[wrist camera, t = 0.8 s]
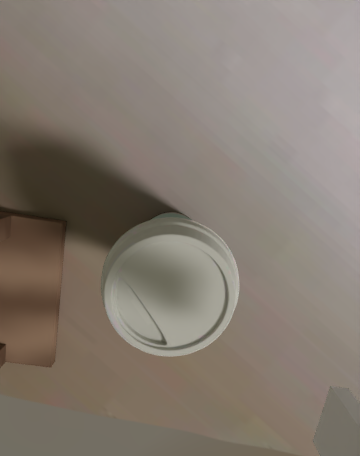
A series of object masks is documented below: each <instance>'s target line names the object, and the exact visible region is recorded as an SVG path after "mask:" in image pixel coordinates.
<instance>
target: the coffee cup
mask: <svg viewBox="0 0 360 456" xmlns="http://www.w3.org/2000/svg"><path fill="white" fill-rule="evenodd" d="M101 295H102V300H103V304H104V307H105V309H106V313H107V316H108V318H109V320H110V322H111V324H112V326H113V327H114V329H115V330H116V331H117V333H118V334H119V335H120V336H121V337H122V338H123V339H124V340H125V341H127V342H128V343H129V344H131V345H132V346H134V347H135V348H137V349H139V350H141V351H144V352H147V353H150V354H153V355H159V356H181V355H186V354H190V353H193V352H196V351H198V350H200V349H202V348H204V347H206V346H207V345H209V344H210V343H212V342H213V341H214V340H215V339H217V338H218V336H219V335H220V334H221V333H222V332H223V331H224V329H225V328H226V327H227V325H228V323H229V322H230V319H231V317H232V315H233V312H234V309H235V307H236V304H237V300H238V295H239V275H238V269H237V265H236V261H235V259H234V256H233V254H232V252H231V251H230V249H229V247H228V246H227V245H226V243H225V242H224V241H223V240H222V239H221V238H220V237H219V236H218V235H217V234H216V233H215V232H213V231H212V230H211V229H209V228H208V227H206V226H204V225H202V224H200V223H198V222H195V221H193V220H191V219H190V218H189V217H187V216H185V215H183V214H180V213H175V212H168V213H163V214H160V215H158V216H156V217H154V218H153V219H151V220H149V221H146V222H143V223H141V224H139V225H137V226H135V227H133V228H132V229H130V230H129V231H127V232H126V233H125V234H123V235H122V236H121V237H120V238H119V239H118V240H117V242H116V243H115V244H114V245H113V247H112V248H111V250H110V252H109V253H108V255H107V258H106V260H105V263H104V266H103V271H102V277H101Z"/></svg>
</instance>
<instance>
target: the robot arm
mask: <svg viewBox="0 0 360 456" xmlns="http://www.w3.org/2000/svg"><path fill="white" fill-rule="evenodd" d="M313 442H314V444H315V446H316V448H317V450H318V452H319V455H320V456H360V403H359V401H358V400H357V399H356V397H355V396H354V395H353V394H352V392H351V391H350V390H349V388H342V387H334V386H330V389H329V392H328V395H327V398H326V401H325V405H324V408H323V411H322V414H321V417H320V420H319V423H318V426H317V429H316V432H315V435H314V439H313Z"/></svg>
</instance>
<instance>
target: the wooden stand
mask: <svg viewBox="0 0 360 456" xmlns="http://www.w3.org/2000/svg"><path fill="white" fill-rule="evenodd" d="M65 231H66V221H62V220H55V219H48V218H42V217H35V216H29V215H22V214H16V213H9V212H2V211H0V368H1V366H2V365H3V364H4V363H5V362H10V363H19V364H27V365H35V366H43V367H52V365H53V363H54V362H55V353H56V341H57V329H58V316H59V304H60V292H61V280H62V268H63V255H64V243H65Z"/></svg>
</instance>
